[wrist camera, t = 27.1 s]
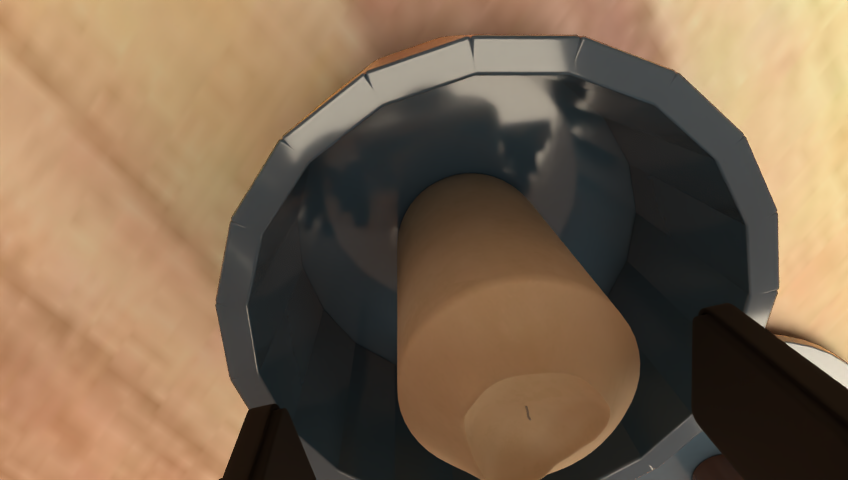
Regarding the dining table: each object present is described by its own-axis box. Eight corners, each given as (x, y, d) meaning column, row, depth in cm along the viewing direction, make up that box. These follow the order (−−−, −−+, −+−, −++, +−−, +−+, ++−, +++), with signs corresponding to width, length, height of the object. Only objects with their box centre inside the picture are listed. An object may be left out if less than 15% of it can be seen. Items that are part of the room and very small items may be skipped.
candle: (482, 322, 20) (555, 562, 11) (370, 260, 19) (344, 475, 9) (565, 219, 18) (735, 399, 9) (449, 142, 17) (512, 264, 8)
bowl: (250, 338, 20) (182, 477, 14) (332, -29, 15) (283, -79, 9) (556, 409, 23) (618, 554, 16) (717, 113, 18) (903, 156, 11)
